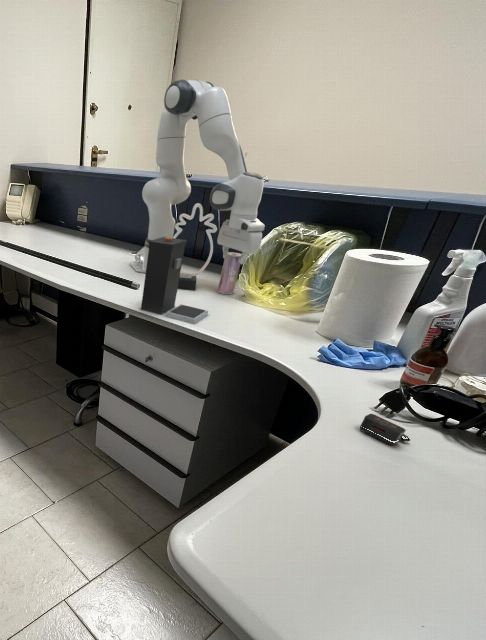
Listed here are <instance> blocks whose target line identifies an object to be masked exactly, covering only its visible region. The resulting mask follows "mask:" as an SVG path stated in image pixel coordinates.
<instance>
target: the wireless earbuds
mask: <svg viewBox="0 0 486 640" xmlns="http://www.w3.org/2000/svg"><path fill="white" fill-rule="evenodd" d="M361 426H362V427H361ZM363 427H364V428H363ZM365 428H366V429H365ZM367 429H369V430H371V431H373V432H374V433H373V432H371V431H369V430H367ZM359 430H360V431H362V432H364V433H365V434H367V435H370V436H371V437H373V438H375V439H377V440H379V441H381V442H382V443H385V444H387V445H389V446H394V445H397V444H399V443H400V442H402V443H405V442H406V443H407V442H408V443H409V442H411V438H410V437H409V436H408V435H406V434H405V433H406V432H407V430H406V429H405V428H404V427H402V426H400V425H398V424H396V423H394V422H391V421H389V420H387V419H385V418H383V417H380V416H379V415H376V414H374V413H369V414H367V415H365V416H364V418H363V420H362V422H361V424H360V426H359ZM375 433H376V434H375ZM377 434H379V435H381V436H383V437H385V438H387V439H389V440H391V441H397V440H399V441H398V442H395V443H393V442H390V441H388V440H386V439H384V438H383V437H381V436H379V435H377ZM402 436H404V437H405V438H406V437H407V438H408V437H409V438H410V439H409V438H408V439H403V438H402ZM400 439H401V440H400Z"/></svg>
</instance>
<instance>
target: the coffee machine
mask: <svg viewBox="0 0 486 640" xmlns="http://www.w3.org/2000/svg"><path fill="white" fill-rule="evenodd" d="M187 241H188V240H187V239H182V238H176V239H175V238H169V237H161V238H158V239H155V240H151V241H149V252H148V259H147V267H146V273H144V275H145V276H144V283H143V289H142V297H141V305H140V310H143V311H146V312H151V313H154V314H158V315H163V314H165V313H166V314H165V317H167V318H171V319H174V320H179V321H183V322H186V323H190V324H196V323H198V322H199V321H201V320H202V319H204V318H205V317H206V316H208V314H209V310H208V309H203V308H198V307H195V306H190V305H186V304H179V305H177V306H176V299H177V294H178V290H179V289H178V283H179V277H180V272H182V265H183V259H184V254H185V248H186V245H187Z"/></svg>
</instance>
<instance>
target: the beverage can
mask: <svg viewBox="0 0 486 640" xmlns="http://www.w3.org/2000/svg"><path fill="white" fill-rule="evenodd" d="M242 256H243V255H242V253H240V252H236V251H235V252H234V251H230V252H229V251H228V253H226V256H225V258H223V259H224V260H223V263H222V264H223V265H222V268H221V273H220V278H219V281H218V285H217V292H218V293H219V294H222V295H232V294H234V291H235V288H236V283H237V279H238V275H239V272H240V267H241V264H239V263H238V262H239V259H241V257H242Z"/></svg>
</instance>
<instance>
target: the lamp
mask: <svg viewBox="0 0 486 640" xmlns="http://www.w3.org/2000/svg"><path fill="white" fill-rule="evenodd" d="M197 208H198V209H199V222H201V223H202V222H203V221H204V223H203V225H205V226H207V227H210V228H211V229H210V228H209V229H206V230H205V232H206V235H207V237H208V241H209V246H210V247H209V254H208V257H207V259H206V261H205V262H204V264H203V265H202V267H201V268H199V270H197V271H196V272H189V271H188V272H187V271H181V272H180V277H179V283H178V289H177V290H186V291H188V290H189V291H195V290H196V286H197V282H198V281H197V276H198V275H200V274H201V273H203V271H204V270H205V269H206V268H207V266H208V265H209V263H210V262H211V260H212V257H213V253H214V242H213V238H212V234H214V233H217V231H218V227H217V225H216V224H215V223H212V221H213V220H214V218H215V215H214V214H213V213H207V214H206V215H204V208H203V205H202V204H201V203H199V202H197V203H195V204H194V205H193V207H192V210H191V214H190V215H189V214H187V213H181V214H179V217H178V219H179V221H180V222H177V223H175V228H174V229H175V230H176V233H175V234H174V235H173V238H175V239H177V237H178V236H179V235H180V234H181V233H182V232H183V228H181V227H179V226H186V224H187V221H185V220H184V218H185V219H187V220H189V221H191V220H193V219H194V217H195V215H196V210H197ZM203 215H204V216H203ZM211 233H212V234H211Z"/></svg>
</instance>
